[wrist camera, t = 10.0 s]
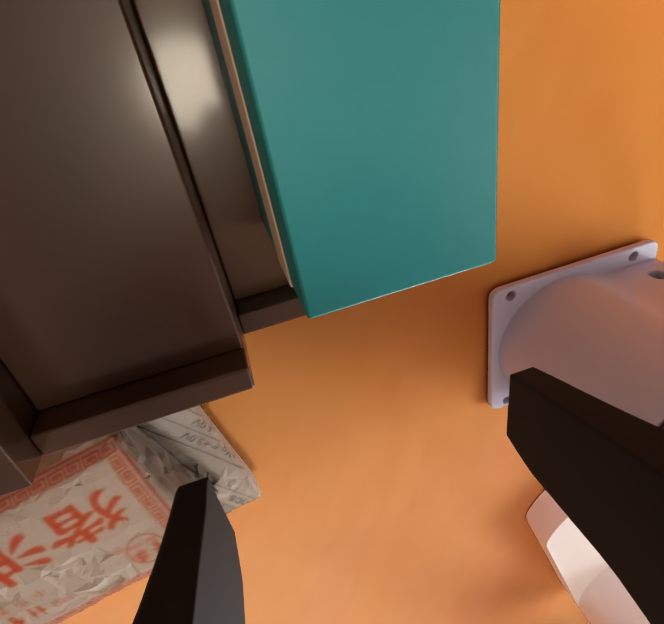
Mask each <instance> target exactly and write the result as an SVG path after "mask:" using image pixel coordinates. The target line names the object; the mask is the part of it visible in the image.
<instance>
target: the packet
mask: <svg viewBox="0 0 664 624" xmlns="http://www.w3.org/2000/svg"><path fill="white" fill-rule="evenodd" d="M202 2H203V6H204V10H205V13H206V17H207V21H208V24H209V28H210V31H211V35H212V39H213V42H214V46H215V50H216V53H217V57H218V60H219V64H220V68H221V71H222V75H223V79H224V82H225V86H226V90H227V93H228V97H229V100H230V104H231V108H232V111H233V115H234V119H235V122H236V126H237V130H238V133H239V137H240V140H241V144H242V148H243V151H244V155H245V159H246V162H247V166H248V170H249V173H250V177H251V180H252V184H253V188H254V191H255V195H256V199H257V202H258V206H259V210H260V213H261V217H262V220H263V223H264V225H265V228H266V230H267V232H268V234H269V236H270V238H271V240H272V242H273V245H274V247H275V249H276V252H277V256H278V259H279V263H280V265H281V267H282V269H283V271H284V274H285V276H286V278H287V280H288V282H289V284H290V286H291V287H294V289H295V292H296V294H297V296H298V298H299V300H300V302H301V304H302V306H303V309H304V311H305V313H306V315H307V317H308V318H310V319H312V318H315V317H318V316H322V315H325V314H328V313H331V312H335V311H338V310H341V309H344V308H348V307H351V306H354V305H357V304H360V303H364V302H367V301H370V300H373V299H377V298H380V297H383V296H386V295H389V294H393V293H396V292H399V291H402V290H406V289H409V288H412V287H415V286H418V285H422V284H425V283H428V282H431V281H435V280H438V279H441V278H444V277H448V276H451V275H454V274H457V273H460V272H464V271H467V270H470V269H473V268H477V267H480V266H483V265H486V264H489V263H493V262H494V261H495V260H496V214H497V155H498V96H499V37H500V0H202Z"/></svg>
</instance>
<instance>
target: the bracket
mask: <svg viewBox="0 0 664 624" xmlns="http://www.w3.org/2000/svg"><path fill="white" fill-rule="evenodd" d="M526 519H527V521H528V523H529V525H530V527H531V529H532V530H533V532H534V534H535V536H536V538H537V539H538V541H539V543H540V545H541V547H542V549H543V550H544V552H545V554H546V556H547V558H548V559H549V561H550V563H551V565H552V567H553V569H554V570H555V572H556V574H557V576H558V578H559V580H560V581H561V583H562V585H563V586H564V587H565V589H566V590H567V592H568V593H569V594H570V596H571V597H572V599H573V600H574V602H575V603H576V604H577V606H578V607H579V609H580V610H581V611H582V613H583V614H584V616H585V617H586V618H587V620H588V621H589V623H590V624H650V623H649V621H648V620H647V618H646V617H645V615H644V614H643V613H642V611H641V610H640V608H639V607H638V606H637V604H636V603H635V601H634V600H633V598H632V597H631V596H630V594H629V593H628V591H627V590H626V588H625V587H624V586H623V584H622V583H621V581H620V580H619V579H618V577H617V576H616V574H615V573H614V572H613V571H612V569H611V568H610V567H609V566H608V564H607V563H606V562H605V560H604V559H603V558H602V557H601V555H600V554H599V553H598V552H597V551H596V549H595V548H594V547H593V546H592V545H591V543H590V542H589V541H588V540H587V539H586V538H585V536H584V535H583V534H582V533H581V532H580V530H579V529H578V528H577V527H576V526H575V524H574V523H573V522H572V521H571V520H570V519H569V517H568V516H567V515H566V514H565V513H564V511H563V510H562V509H561V508H560V507H559V505H558V504H557V503H556V502H555V501H554V499H553V498H552V497H551V496H550V495H549V493H548V492H547V491H546V490H545V491H544V492H543V493H542V494H541V495H540V496H539V497H538V498H537V499H536V500H535V502H534V503H533V504H532V506H531V507H530V509H529V510H528V512H527V514H526Z"/></svg>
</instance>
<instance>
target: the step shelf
mask: <svg viewBox="0 0 664 624" xmlns="http://www.w3.org/2000/svg"><path fill="white" fill-rule="evenodd" d="M304 315H306V313H305V311H304V309H303V306H302V304H301V302H300V300H299V298H298V296H297V294H296V292H295V289H294V287H291V286H290V284H289V282H288V280H287V278H286V276H285V274H284V271H283V269H282V267H281V265H280V263H279V259H278V256H277V252H276V249H275V247H274V245H273V242H272V240H271V238H270V236H269V234H268V232H267V230H266V228H265V225H264V223H263V220H262V217H261V213H260V210H259V206H258V202H257V199H256V195H255V191H254V188H253V184H252V180H251V177H250V173H249V170H248V166H247V162H246V159H245V155H244V151H243V148H242V144H241V140H240V137H239V133H238V130H237V126H236V122H235V119H234V115H233V111H232V108H231V104H230V100H229V97H228V93H227V90H226V86H225V82H224V79H223V75H222V71H221V68H220V64H219V60H218V57H217V53H216V50H215V46H214V42H213V39H212V35H211V31H210V28H209V24H208V21H207V17H206V13H205V10H204V6H203V2H202V0H0V496H3V495H6V494H9V493H12V492H15V491H18V490H21V489H24V488H27V487H30V486H31V485H32V484H33V482H34V479H35V476H36V473H37V470H38V467H39V464H40V461H41V458H42V455H49V454H52V453H55V452H58V451H61V450H64V449H67V448H70V447H73V446H76V445H79V444H82V443H85V442H88V441H92V440H95V439H98V438H101V437H104V436H107V435H110V434H113V433H116V432H119V431H122V430H125V429H128V428H131V427H135V426H138V425H141V424H144V423H147V422H150V421H153V420H156V419H159V418H162V417H165V416H168V415H171V414H174V413H178V412H181V411H184V410H187V409H190V408H193V407H196V406H199V405H202V404H205V403H208V402H211V401H214V400H217V399H221V398H224V397H227V396H230V395H233V394H236V393H239V392H242V391H245V390H248V389H251V388H253V387H254V379H253V374H252V370H251V365H250V361H249V356H248V352H247V347H246V342H245V338H244V334H246V333H249V332H252V331H256V330H259V329H262V328H265V327H269V326H272V325H275V324H278V323H282V322H285V321H288V320H291V319H295V318H298V317H301V316H304Z"/></svg>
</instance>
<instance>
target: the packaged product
mask: <svg viewBox="0 0 664 624" xmlns="http://www.w3.org/2000/svg"><path fill="white" fill-rule="evenodd" d="M205 477H208V478H209V480H210V483H211V485H212V487H213V489H214V491H215V493H216V495H217V497H218V499H219V501H220V503H221V505H222V507H223V510H224V512H225V514H228V513H230V512H231V511H232V510H234V509H236V508H238V507H240V506H242V505H244V504H246V503H248V502H251V501H253V500H255V499H257V498H259V497H260V495H261V492H260V489H259V487H258V484H257V482H256V479H255V477H254V474H253V472H252V471H251V470H250V469H249V467H248V466H247V465H246V464H245V462H244V461H243V460H242V459H241V457H240V456H239V455H238V454H237V452H236V451H235V450H234V449H233V447H232V446H231V445H230V444H229V442H228V441H227V440H226V439H225V437H224V436H223V435H222V434H221V432H220V431H219V430H218V428H217V427H216V426H215V424H214V423H213V422H212V421H211V419H210V418H209V417H208V415H207V414H206V413H205V411H204V410H203V409H202V408H201V406H200V405H199V406H196V407H193V408H190V409H187V410H184V411H181V412H178V413H174V414H171V415H168V416H165V417H162V418H159V419H156V420H153V421H150V422H147V423H144V424H141V425H138V426H135V427H131V428H128V429H125V430H122V431H119V432H116V433H113V434H110V435H107V436H104V437H101V438H98V439H95V440H92V441H88V442H85V443H82V444H79V445H76V446H73V447H70V448H67V449H64V450H61V451H58V452H55V453H52V454H49V455H42V458H41V461H40V464H39V467H38V470H37V473H36V476H35V479H34V482H33V484H32V485H31V486H30V487H27V488H24V489H21V490H18V491H15V492H12V493H9V494H6V495H3V496H0V624H59V623H61V622H62V621H64V620H66V619H67V618H69V617H71V616H73V615H75V614H77V613H79V612H81V611H83V610H84V609H86V608H88V607H89V606H92V605H94V604H96V603H97V602H99V601H100V600H102V599H103V598H105V597H107V596H109V595H111V594H114V593H116V592H118V591H120V590H122V589H124V588H125V587H127V586H129V585H131V584H133V583H134V582H136V581H139V580H141V579H143V578H145V577H147V576H149V575H151V572H152V569H153V566H154V563H155V560H156V557H157V554H158V551H159V548H160V545H161V542H162V538H163V535H164V532H165V529H166V525H167V522H168V518H169V515H170V511H171V508H172V504H173V500H174V496H175V492H176V490H177V489H178V487H179V486H182V485H185V484H188V483H191V482H194V481H197V480H200V479H202V478H205Z"/></svg>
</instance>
